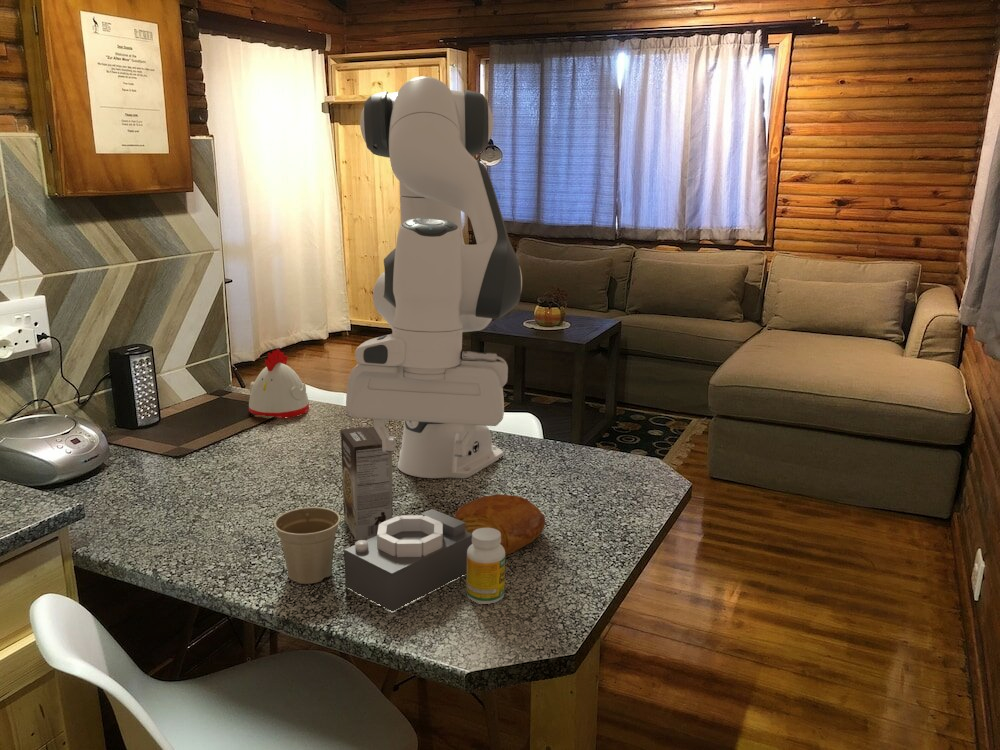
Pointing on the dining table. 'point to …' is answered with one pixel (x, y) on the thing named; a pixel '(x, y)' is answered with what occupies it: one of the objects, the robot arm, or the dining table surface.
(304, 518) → the flower pot
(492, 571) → the supplement bottle
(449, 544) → the camera body
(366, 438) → the coffee box
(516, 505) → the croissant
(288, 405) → the kitchen timer
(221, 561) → the dining table surface
